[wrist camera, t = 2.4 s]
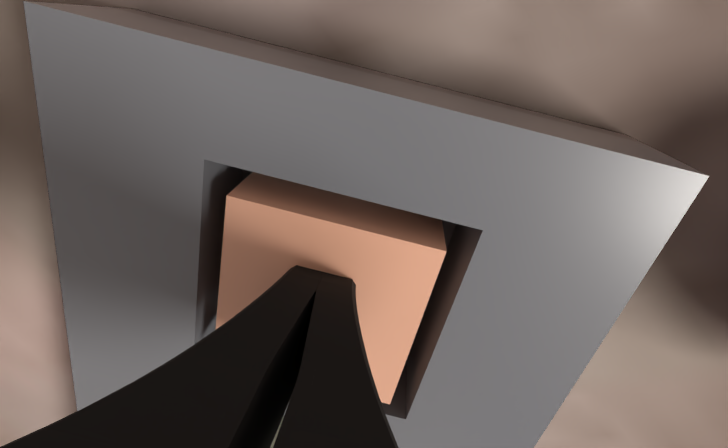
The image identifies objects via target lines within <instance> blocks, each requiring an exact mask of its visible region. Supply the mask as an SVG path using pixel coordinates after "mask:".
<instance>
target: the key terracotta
mask: <svg viewBox="0 0 728 448" xmlns="http://www.w3.org/2000/svg"><path fill="white" fill-rule="evenodd" d="M446 252H447V250H446V243H445V237H444V230H443V224H442V220H440V219H436V218H432V217H428V216H424V215H421V214H417V213H413V212H409V211H405V210H401V209H397V208H393V207H389V206H385V205H381V204H377V203H373V202H369V201H366V200H362V199H358V198H354V197H350V196H346V195H342V194H338V193H334V192H330V191H326V190H322V189H318V188H314V187H310V186H307V185H303V184H299V183H295V182H291V181H287V180H283V179H279V178H275V177H271V176H267V175H263V174H259V173H255V172H252V173H251V174H250V175H249V176H248V177H247V178H245V179H244V180H243V181H242V182H241V183H240V184H239V185H238V186H236V187H235V188H234V189H233V190H232V191H231V192H230V193H229V194H228V195H226V208H225V220H224V232H223V244H222V256H221V269H220V281H219V293H218V305H217V318H216V329H217V328H219V327H220V326H222V325H223V324H224V323H226V322H227V321H229V320H230V319H231V318H233V317H234V316H235V315H236V314H238V313H239V312H240V311H242V310H243V309H244V308H245V307H247V306H248V305H249V304H250V303H252V302H253V301H254V300H255V299H257V298H258V297H259V296H260V295H262V294H263V293H264V292H265V291H266V290H267V289H269V288H270V287H271V286H272V285H273V284H274V283H275V282H277V281H278V280H279V279H280V278H281V277H282V276H283V275H284V274H285V273H286V272H287V271H288V270H289V269H290V268H292V267H294V266H296V265H298V266H302V267H306V268H310V269H314V270H318V271H322V272H326V273H330V274H334V275H338V276H342V277H346V278H350V279H353V281H354V283H355V284H356V304H357V312H358V318H359V324H360V329H361V334H362V338H363V342H364V346H365V350H366V354H367V358H368V362H369V366H370V369H371V373H372V376H373V379H374V382H375V385H376V388H377V391H378V395H379V398H380V400H381V402H382V403H386V404H390V403H391V400H392V397H393V395H394V392H395V389H396V387H397V384H398V381H399V379H400V376H401V373H402V371H403V368H404V365H405V362H406V360H407V357H408V354H409V352H410V349H411V346H412V344H413V341H414V338H415V336H416V333H417V330H418V327H419V325H420V322H421V319H422V317H423V314H424V311H425V309H426V306H427V303H428V301H429V298H430V295H431V292H432V290H433V287H434V284H435V282H436V279H437V276H438V274H439V271H440V268H441V266H442V263H443V260H444V257H445V255H446Z"/></svg>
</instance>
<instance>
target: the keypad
mask: <svg viewBox="0 0 728 448" xmlns="http://www.w3.org/2000/svg"><path fill="white" fill-rule="evenodd" d="M23 2H24V10H25V17H26V25H27V33H28V40H29V48H30V55H31V63H32V71H33V78H34V86H35V93H36V101H37V109H38V116H39V124H40V131H41V139H42V147H43V154H44V162H45V169H46V177H47V185H48V192H49V200H50V207H51V215H52V223H53V230H54V238H55V245H56V253H57V261H58V268H59V276H60V283H61V291H62V299H63V306H64V314H65V321H66V329H67V337H68V344H69V352H70V359H71V367H72V375H73V382H74V390H75V397H76V405H77V411H79V410H81V409H83V408H85V407H87V406H89V405H90V404H92V403H94V402H96V401H98V400H100V399H102V398H104V397H106V396H107V395H109V394H111V393H113V392H115V391H117V390H119V389H121V388H122V387H124V386H126V385H128V384H130V383H132V382H134V381H135V380H137V379H139V378H141V377H142V376H144V375H146V374H147V373H149V372H151V371H153V370H154V369H156V368H158V367H159V366H161V365H163V364H164V363H166V362H168V361H169V360H171V359H173V358H174V357H176V356H177V355H179V354H180V353H182V352H184V351H185V350H187V349H188V348H190V347H191V346H193V345H194V344H196V343H197V342H199V341H200V340H202V339H203V338H204V337H206V336H207V335H209V334H210V333H212V332H213V331H214V330H216V318H217V305H218V293H219V281H220V269H221V256H222V244H223V232H224V220H225V208H226V195H228V194H229V193H230V192H231V191H232V190H233V189H234V188H235V187H236V186H238V185H239V184H240V183H241V182H242V181H243V180H244V179H245V178H247V177H248V176H249V175H250V174H251V173H252V172H255V173H259V174H263V175H267V176H271V177H275V178H279V179H283V180H287V181H291V182H295V183H299V184H303V185H307V186H310V187H314V188H318V189H322V190H326V191H330V192H334V193H338V194H342V195H346V196H350V197H354V198H358V199H362V200H366V201H369V202H373V203H377V204H381V205H385V206H389V207H393V208H397V209H401V210H405V211H409V212H413V213H417V214H421V215H424V216H428V217H432V218H436V219H440V220H442V224H443V230H444V237H445V243H446V250H447V252H446V255H445V257H444V260H443V263H442V266H441V268H440V271H439V274H438V276H437V279H436V282H435V284H434V287H433V290H432V292H431V295H430V298H429V301H428V303H427V306H426V309H425V311H424V314H423V317H422V319H421V322H420V325H419V327H418V330H417V333H416V336H415V338H414V341H413V344H412V346H411V349H410V352H409V354H408V357H407V360H406V362H405V365H404V368H403V371H402V373H401V376H400V379H399V381H398V384H397V387H396V389H395V392H394V395H393V397H392V400H391V403H390V404H386V403H382V402H381V403H382V406H383V409H384V412H385V414H386V417H387V420H388V422H389V425H390V428H391V430H392V432H393V435H394V437H395V440H396V442H397V445H398V447H399V448H534V446H535V445H536V443H537V442H538V440H539V439H540V437H541V436H542V434H543V432H544V431H545V429H546V428H547V426H548V425H549V423H550V422H551V420H552V419H553V417H554V415H555V414H556V412H557V411H558V409H559V408H560V406H561V405H562V403H563V402H564V400H565V398H566V397H567V395H568V394H569V392H570V391H571V389H572V388H573V386H574V385H575V383H576V381H577V380H578V378H579V377H580V375H581V374H582V372H583V371H584V369H585V368H586V366H587V364H588V363H589V361H590V360H591V358H592V357H593V355H594V354H595V352H596V351H597V349H598V347H599V346H600V344H601V343H602V341H603V340H604V338H605V337H606V335H607V334H608V332H609V330H610V329H611V327H612V326H613V324H614V323H615V321H616V320H617V318H618V317H619V315H620V313H621V312H622V310H623V309H624V307H625V306H626V304H627V303H628V301H629V300H630V298H631V296H632V295H633V293H634V292H635V290H636V289H637V287H638V286H639V284H640V283H641V281H642V279H643V278H644V276H645V275H646V273H647V272H648V270H649V269H650V267H651V266H652V264H653V262H654V261H655V259H656V258H657V256H658V255H659V253H660V252H661V250H662V249H663V247H664V245H665V244H666V242H667V241H668V239H669V238H670V236H671V235H672V233H673V232H674V230H675V228H676V227H677V225H678V224H679V222H680V221H681V219H682V218H683V216H684V215H685V213H686V211H687V210H688V208H689V207H690V205H691V204H692V202H693V201H694V199H695V198H696V196H697V194H698V193H699V191H700V190H701V188H702V187H703V185H704V184H705V182H706V181H707V179H708V177H709V176H708V175H706V174H704V173H702V172H700V171H698V170H696V169H694V168H692V167H690V166H688V165H686V164H684V163H682V162H680V161H678V160H676V159H674V158H672V157H670V156H668V155H666V154H664V153H662V152H660V151H658V150H656V149H654V148H652V147H650V146H648V145H646V144H644V143H642V142H640V141H638V140H636V139H634V138H632V137H630V136H628V135H625V134H621V133H617V132H613V131H609V130H605V129H601V128H597V127H594V126H590V125H586V124H582V123H578V122H574V121H570V120H566V119H562V118H558V117H554V116H550V115H547V114H543V113H539V112H535V111H531V110H527V109H523V108H519V107H515V106H511V105H507V104H503V103H500V102H496V101H492V100H488V99H484V98H480V97H476V96H472V95H468V94H464V93H460V92H457V91H453V90H449V89H445V88H441V87H437V86H433V85H429V84H425V83H421V82H417V81H413V80H410V79H406V78H402V77H398V76H394V75H390V74H386V73H382V72H378V71H374V70H370V69H366V68H363V67H359V66H355V65H351V64H347V63H343V62H339V61H335V60H331V59H327V58H323V57H319V56H316V55H312V54H308V53H304V52H300V51H296V50H292V49H288V48H284V47H280V46H276V45H273V44H269V43H265V42H261V41H257V40H253V39H249V38H245V37H241V36H237V35H233V34H229V33H226V32H222V31H218V30H214V29H210V28H206V27H202V26H198V25H194V24H190V23H186V22H182V21H179V20H175V19H171V18H167V17H163V16H159V15H155V14H151V13H147V12H143V11H139V10H135V9H129V8H115V7H102V6H88V5H74V4H60V3H46V2H32V1H23ZM288 404H289V403H288ZM287 407H288V406H287ZM286 410H287V408H286ZM285 413H286V411H285ZM285 413H284V415H285ZM283 417H284V416H283Z"/></svg>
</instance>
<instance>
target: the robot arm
mask: <svg viewBox="0 0 728 448" xmlns="http://www.w3.org/2000/svg"><path fill="white" fill-rule="evenodd" d="M288 403H289V404H288ZM287 406H288V407H287ZM286 408H287V410H286ZM285 411H286V413H285ZM284 413H285V415H284ZM283 416H284V418H283ZM282 418H283V421H282V424H281V427H280V430H279V432H278V435H277V438H276V441H275V443H274V446H273V448H399V447H398V445H397V442H396V440H395V437H394V435H393V432H392V430H391V428H390V425H389V422H388V420H387V417H386V414H385V412H384V409H383V406H382V403H381V400H380V398H379V395H378V391H377V388H376V385H375V382H374V379H373V376H372V373H371V369H370V366H369V362H368V358H367V354H366V350H365V346H364V342H363V338H362V334H361V329H360V324H359V318H358V312H357V304H356V284H355V283H354V281H353V279H350V278H346V277H342V276H338V275H334V274H330V273H326V272H322V271H318V270H314V269H310V268H306V267H302V266H298V265H296V266H294V267H292V268H290V269H289V270H288V271H287V272H286V273H285V274H284V275H283V276H282V277H281V278H280V279H279V280H278V281H277V282H275V283H274V284H273V285H272V286H271V287H270V288H269V289H267V290H266V291H265V292H264V293H263V294H262V295H260V296H259V297H258V298H257V299H255V300H254V301H253V302H252V303H250V304H249V305H248V306H247V307H245V308H244V309H243V310H242V311H240V312H239V313H238V314H236V315H235V316H234V317H233V318H231V319H230V320H229V321H227V322H226V323H224V324H223V325H222V326H220V327H219V328H217V329H216V330H214V331H213V332H212V333H210V334H209V335H207V336H206V337H204V338H203V339H202V340H200V341H199V342H197V343H196V344H194V345H193V346H191V347H190V348H188V349H187V350H185V351H184V352H182V353H180V354H179V355H177V356H176V357H174V358H173V359H171V360H169V361H168V362H166V363H164V364H163V365H161V366H159V367H158V368H156V369H154V370H153V371H151V372H149V373H147V374H146V375H144V376H142V377H141V378H139V379H137V380H135V381H134V382H132V383H130V384H128V385H126V386H124V387H122V388H121V389H119V390H117V391H115V392H113V393H111V394H109V395H107V396H106V397H104V398H102V399H100V400H98V401H96V402H94V403H92V404H90V405H89V406H87V407H85V408H83V409H81V410H79V411H77V412H75V413H73V414H71V415H69V416H67V417H65V418H63V419H61V420H59V421H56V422H54V423H52V424H50V425H48V426H46V427H44V428H42V429H39V430H37V431H35V432H33V433H30V434H28V435H26V436H24V437H22V438H19V439H17V440H15V441H13V442H10V443H8V444H6V445H4V446H2V447H0V448H270V447H271V444H272V442H273V439H274V437H275V435H276V432H277V430H278V427H279V425H280V423H281V420H282Z"/></svg>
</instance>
